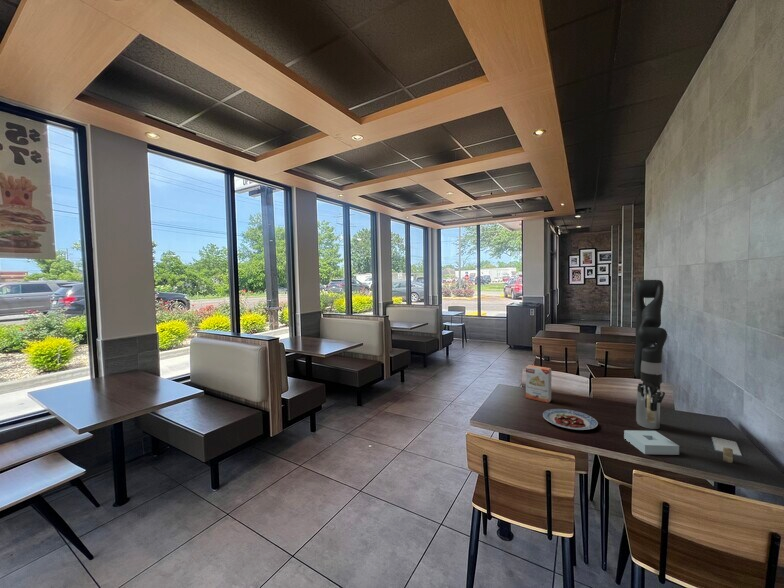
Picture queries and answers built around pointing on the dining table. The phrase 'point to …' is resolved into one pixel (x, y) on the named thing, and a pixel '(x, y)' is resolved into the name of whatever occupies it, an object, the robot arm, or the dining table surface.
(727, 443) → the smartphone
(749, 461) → the dining table surface
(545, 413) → the ceramic plate
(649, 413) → the long pin
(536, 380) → the cracker box
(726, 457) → the short pin
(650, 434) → the hole block
